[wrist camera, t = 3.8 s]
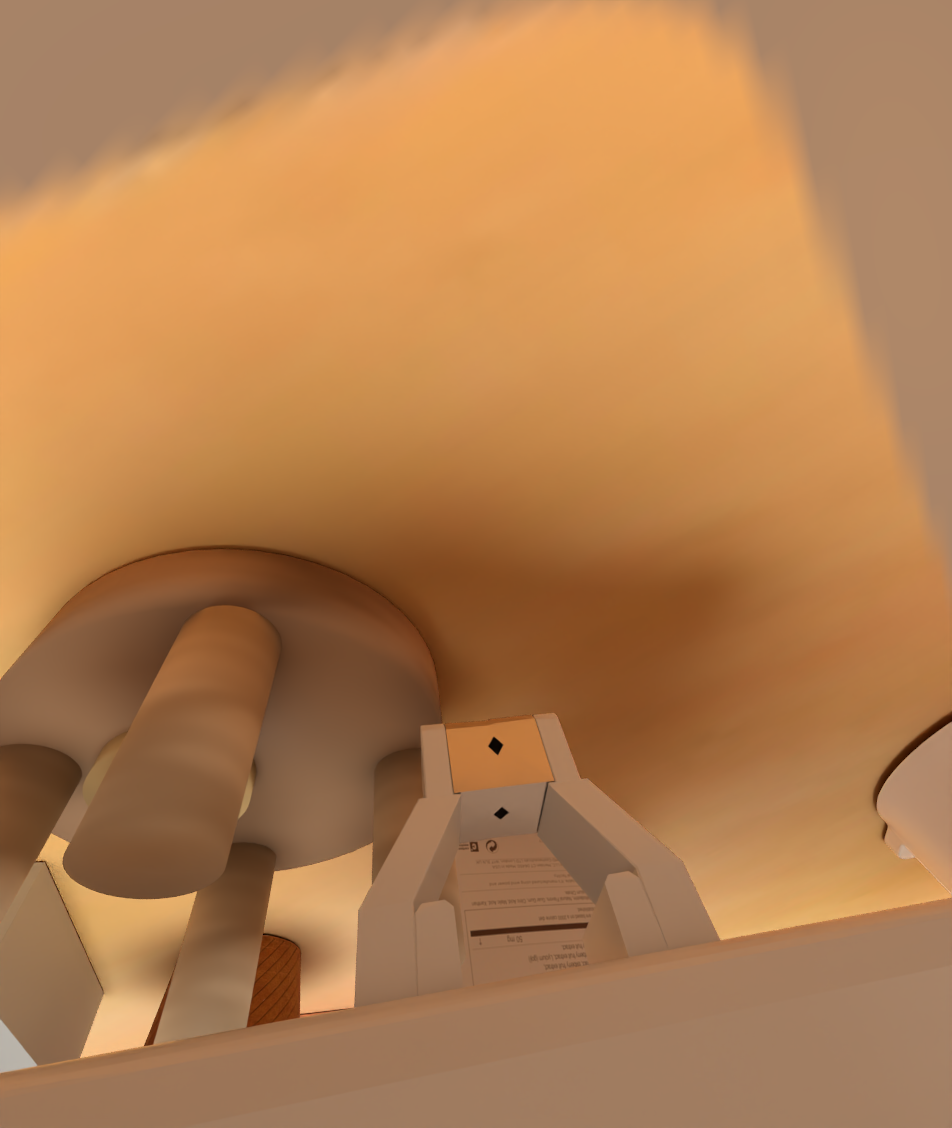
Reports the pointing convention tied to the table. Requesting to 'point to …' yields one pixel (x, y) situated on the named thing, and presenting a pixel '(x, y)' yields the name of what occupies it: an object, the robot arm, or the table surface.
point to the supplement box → (518, 910)
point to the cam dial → (214, 748)
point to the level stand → (43, 979)
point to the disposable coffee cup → (265, 986)
